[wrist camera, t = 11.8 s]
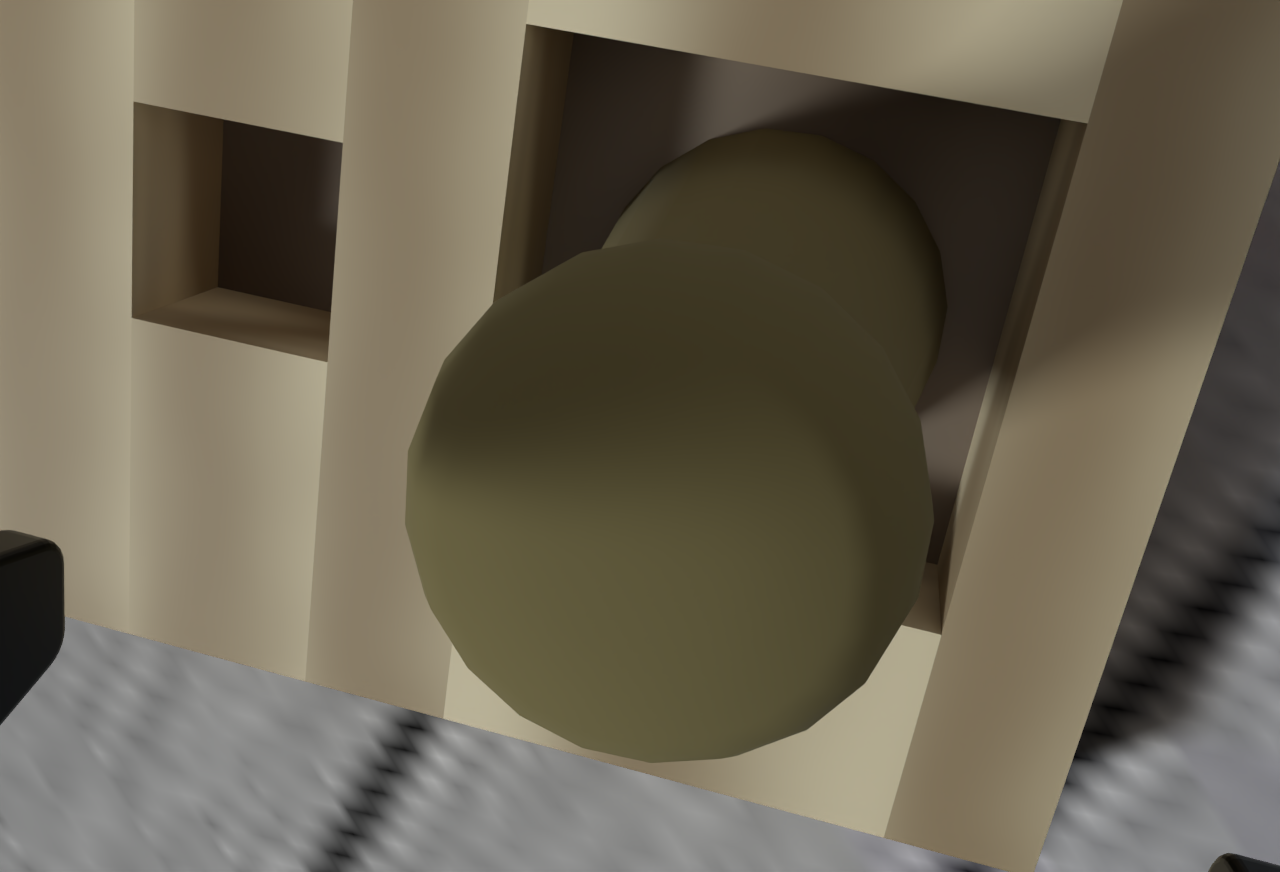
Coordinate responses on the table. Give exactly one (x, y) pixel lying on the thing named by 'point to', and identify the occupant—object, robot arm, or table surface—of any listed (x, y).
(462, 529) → the olive knobbed peg
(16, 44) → the block
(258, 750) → the table surface
